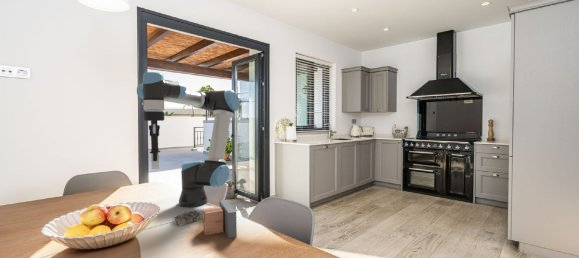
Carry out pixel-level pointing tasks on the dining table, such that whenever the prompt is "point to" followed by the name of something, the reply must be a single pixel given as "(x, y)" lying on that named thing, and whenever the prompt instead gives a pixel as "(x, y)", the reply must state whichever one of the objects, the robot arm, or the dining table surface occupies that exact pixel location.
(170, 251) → the dining table surface
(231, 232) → the grey board
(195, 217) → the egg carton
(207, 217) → the terracotta block
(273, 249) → the dining table surface
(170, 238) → the dining table surface
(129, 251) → the dining table surface
